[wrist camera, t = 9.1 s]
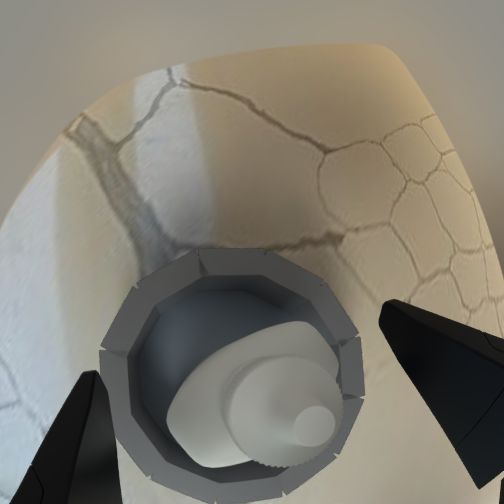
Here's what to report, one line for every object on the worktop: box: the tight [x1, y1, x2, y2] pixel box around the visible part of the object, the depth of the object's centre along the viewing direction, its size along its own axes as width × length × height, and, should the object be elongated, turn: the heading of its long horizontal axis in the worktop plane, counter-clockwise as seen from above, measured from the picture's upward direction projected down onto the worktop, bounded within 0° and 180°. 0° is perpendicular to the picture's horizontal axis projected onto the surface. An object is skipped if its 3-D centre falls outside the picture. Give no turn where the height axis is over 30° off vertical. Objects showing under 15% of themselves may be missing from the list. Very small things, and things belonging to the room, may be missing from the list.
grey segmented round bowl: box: [99, 248, 365, 504], centre depth 14 cm, size 13×13×4 cm
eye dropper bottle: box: [166, 321, 344, 468], centre depth 10 cm, size 4×6×12 cm
